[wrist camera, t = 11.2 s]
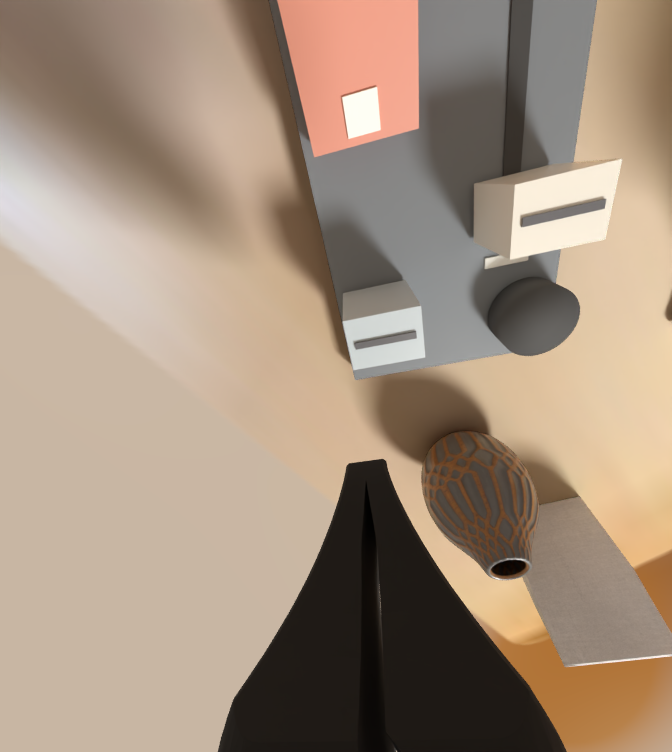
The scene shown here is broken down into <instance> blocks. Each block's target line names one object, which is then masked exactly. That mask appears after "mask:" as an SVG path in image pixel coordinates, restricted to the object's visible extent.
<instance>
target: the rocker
mask: <svg viewBox="0 0 672 752" xmlns="http://www.w3.org/2000/svg"><path fill="white" fill-rule="evenodd" d="M277 1H278V5H279V9H280V14H281V18H282V22H283V27H284V31H285V35H286V39H287V44H288V48H289V52H290V56H291V61H292V65H293V69H294V73H295V78H296V82H297V86H298V90H299V95H300V99H301V103H302V107H303V112H304V116H305V120H306V125H307V129H308V133H309V137H310V142H311V146H312V150H313V154H314V157H318V156H321V155H325V154H328V153H332V152H336V151H339V150H343V149H346V148H350V147H354V146H357V145H361V144H364V143H368V142H372V141H375V140H379V139H382V138H386V137H390V136H393V135H397V134H400V133H404V132H408V131H411V130H415V129H419V56H418V0H277Z"/></svg>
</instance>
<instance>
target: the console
mask: <svg viewBox="0 0 672 752" xmlns="http://www.w3.org/2000/svg"><path fill="white" fill-rule="evenodd" d="M596 3H597V0H418V56H419V129H415V130H411V131H408V132H404V133H400V134H397V135H393V136H390V137H386V138H382V139H379V140H375V141H372V142H368V143H364V144H361V145H357V146H354V147H350V148H346V149H343V150H339V151H336V152H332V153H328V154H325V155H321V156H318V157H314V154H313V150H312V146H311V142H310V137H309V133H308V129H307V125H306V120H305V116H304V112H303V107H302V103H301V99H300V95H299V90H298V86H297V82H296V78H295V73H294V69H293V65H292V61H291V56H290V52H289V48H288V44H287V39H286V35H285V31H284V27H283V22H282V18H281V14H280V9H279V5H278V1H277V0H269V4H270V8H271V13H272V17H273V21H274V26H275V30H276V35H277V39H278V43H279V48H280V52H281V57H282V61H283V65H284V70H285V74H286V79H287V83H288V87H289V92H290V96H291V101H292V105H293V109H294V114H295V118H296V123H297V127H298V131H299V136H300V140H301V144H302V149H303V153H304V158H305V162H306V166H307V171H308V175H309V180H310V184H311V188H312V193H313V197H314V202H315V206H316V210H317V215H318V219H319V224H320V228H321V232H322V237H323V241H324V246H325V250H326V254H327V259H328V263H329V268H330V272H331V276H332V281H333V285H334V290H335V294H336V298H337V303H338V307H339V312H340V316H341V320H342V325H343V293H346V292H351V291H356V290H360V289H365V288H370V287H374V286H379V285H384V284H388V283H393V282H398V281H402V280H406V282H407V283H408V285H409V287H410V288H411V290H412V292H413V293H414V295H415V296H416V298H417V300H418V301H419V303H420V305H421V310H422V322H423V334H424V346H425V358H419V359H414V360H408V361H403V362H397V363H392V364H386V365H380V366H375V367H369V368H364V369H358V370H353V373H354V377H355V380H359V379H365V378H370V377H376V376H382V375H388V374H393V373H399V372H405V371H411V370H416V369H422V368H428V367H433V366H439V365H445V364H451V363H456V362H462V361H468V360H474V359H479V358H485V357H491V356H496V355H502V354H508V353H513V352H511V351H509V350H508V349H507V348H506V347H505V346H504V345H503V344H502V343H501V342H500V341H499V340H498V339H497V338H496V337H495V336H494V334H493V333H492V332H491V330H490V328H489V325H488V313H489V309H490V307H491V304H492V302H493V301H494V299H495V298H496V296H497V295H498V294H499V293H500V292H501V291H502V290H503V289H504V288H506V287H507V286H508V285H510V284H511V283H513V282H515V281H517V280H520V279H523V278H527V277H541V278H545V279H547V280H549V281H551V282H553V283H555V284H556V278H557V271H558V264H559V257H560V250H561V249H558V250H553V251H548V252H544V253H539V254H534V255H530V256H525V257H520V258H515V259H511V260H510V259H507V258H505V257H503V256H501V255H499V254H497V253H495V252H493V251H491V250H489V249H487V248H485V247H482V246H480V245H478V244H476V243H474V184H475V183H479V182H483V181H487V180H491V179H495V178H499V177H503V176H507V175H511V174H515V173H519V172H523V171H527V170H531V169H535V168H539V167H543V166H547V165H551V164H559V163H572V162H573V161H574V154H575V147H576V140H577V134H578V127H579V120H580V113H581V106H582V99H583V92H584V86H585V79H586V72H587V65H588V58H589V51H590V45H591V38H592V31H593V24H594V17H595V10H596ZM343 329H344V326H343ZM344 333H345V330H344ZM345 338H346V334H345ZM346 342H347V339H346ZM347 347H348V343H347ZM348 351H349V348H348ZM349 355H350V352H349ZM350 360H351V357H350ZM351 364H352V361H351ZM352 369H353V365H352Z"/></svg>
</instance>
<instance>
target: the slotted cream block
mask: <svg viewBox="0 0 672 752" xmlns="http://www.w3.org/2000/svg"><path fill="white" fill-rule="evenodd" d="M621 163H622V159H612V160H599V161H586V162H572V163H559V164H551V165H547V166H543V167H539V168H535V169H531V170H527V171H523V172H519V173H515V174H511V175H507V176H503V177H499V178H495V179H491V180H487V181H483V182H479V183H475V184H474V243H476V244H478V245H480V246H482V247H485V248H487V249H489V250H491V251H493V252H495V253H497V254H499V255H501V256H503V257H505V258H507V259H510V260H511V259H515V258H520V257H525V256H530V255H534V254H539V253H544V252H548V251H553V250H558V249H562V248H567V247H572V246H577V245H581V244H586V243H591V242H595V241H600V240H605V238H606V233H607V228H608V224H609V219H610V214H611V210H612V205H613V200H614V196H615V191H616V186H617V182H618V177H619V172H620V167H621Z"/></svg>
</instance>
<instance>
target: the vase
mask: <svg viewBox="0 0 672 752" xmlns="http://www.w3.org/2000/svg"><path fill="white" fill-rule="evenodd" d="M421 483H422V490H423V495H424V500H425V503H426V506H427V509H428V511H429V513H430V515H431V517H432V519H433V520H434V522H435V524H436V525H437V527H438V528H439V530H440V531H441V532H442V533H443V535H444V536H445V537H446V538H447V539H448V540H449V541H450V542H452V543H453V544H454V545H455V546H457V547H458V548H459V549H461V550H462V551H463V552H465V553H466V554H467V555H469V556H470V557H471V558H473V559H474V560H475V561H476V562H477V563H478V564H479V565H480V566H481V568H482V569H483V570H484V571H485V573H486V574H487V575H488V576H490V577H491V578H494V579H497V580H512V579H516V578H520V577H522V576H524V575H526V574H527V573H528V572H529V571H530V570H531V569H532V545H533V541H534V537H535V534H536V530H537V526H538V521H539V502H538V497H537V493H536V489H535V486H534V483H533V481H532V478H531V476H530V475H529V473H528V471H527V469H526V468H525V466H524V465H523V463H522V462H521V461H520V459H519V458H518V457H517V456H516V454H515V453H514V452H513V451H512V450H510V449H509V448H508V447H507V446H506V445H504V444H503V443H502V442H500V441H499V440H497V439H495V438H494V437H492V436H489V435H487V434H483V433H480V432H473V431H461V432H455V433H452V434H449V435H447V436H445V437H443V438H441V439H440V440H439V441H438V442H436V443H435V444H434V445H433V446H432V447H431V449H430V450H429V452H428V453H427V455H426V457H425V460H424V463H423V467H422V475H421Z"/></svg>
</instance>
